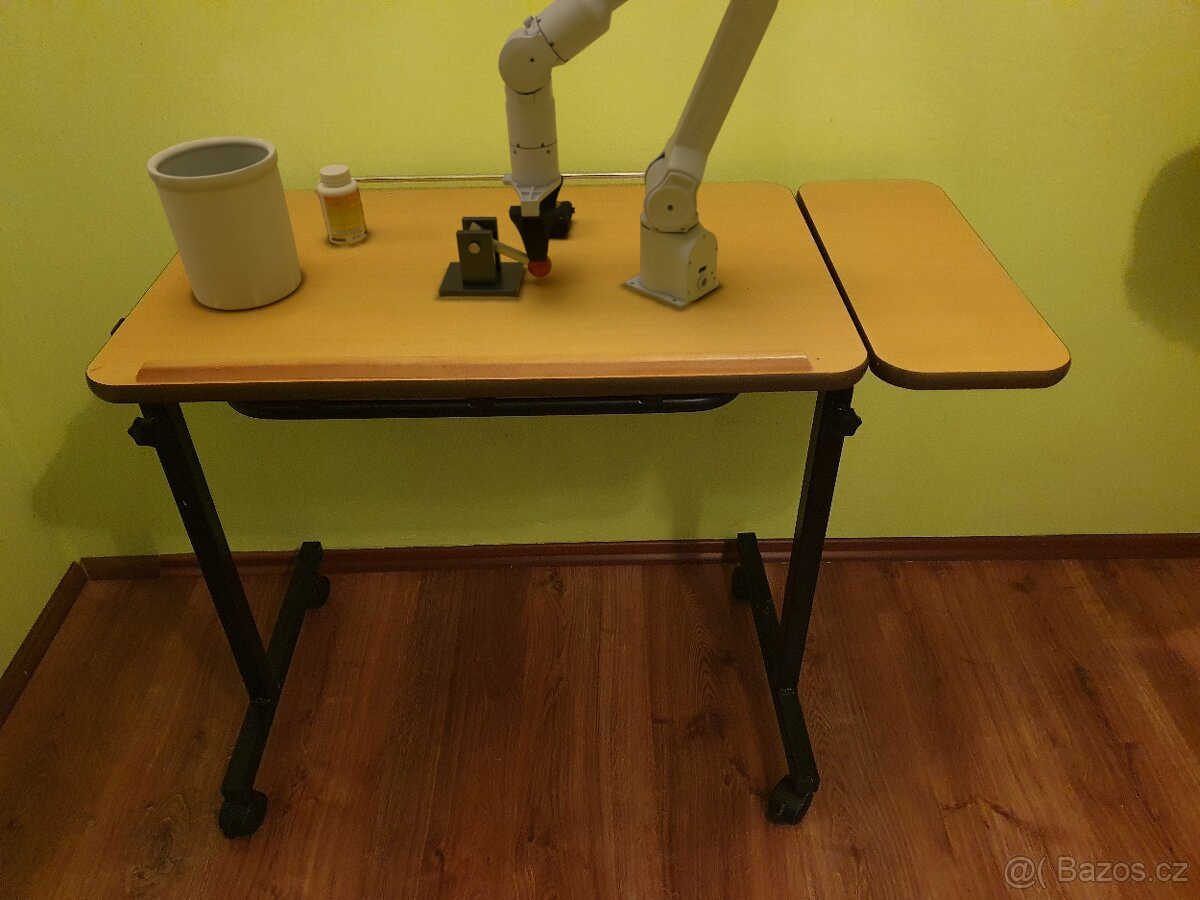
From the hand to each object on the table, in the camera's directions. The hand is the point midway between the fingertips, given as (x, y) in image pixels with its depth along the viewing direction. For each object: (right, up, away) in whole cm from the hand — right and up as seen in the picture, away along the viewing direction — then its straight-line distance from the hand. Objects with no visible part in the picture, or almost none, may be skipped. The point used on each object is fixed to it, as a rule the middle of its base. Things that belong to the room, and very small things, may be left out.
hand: (541, 247), depth 115 cm
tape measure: (+1, +6, +16) cm, 17 cm away
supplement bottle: (-29, +5, +16) cm, 33 cm away
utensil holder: (-39, -4, +5) cm, 40 cm away
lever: (-5, -2, +2) cm, 5 cm away
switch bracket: (-8, -4, +4) cm, 10 cm away
